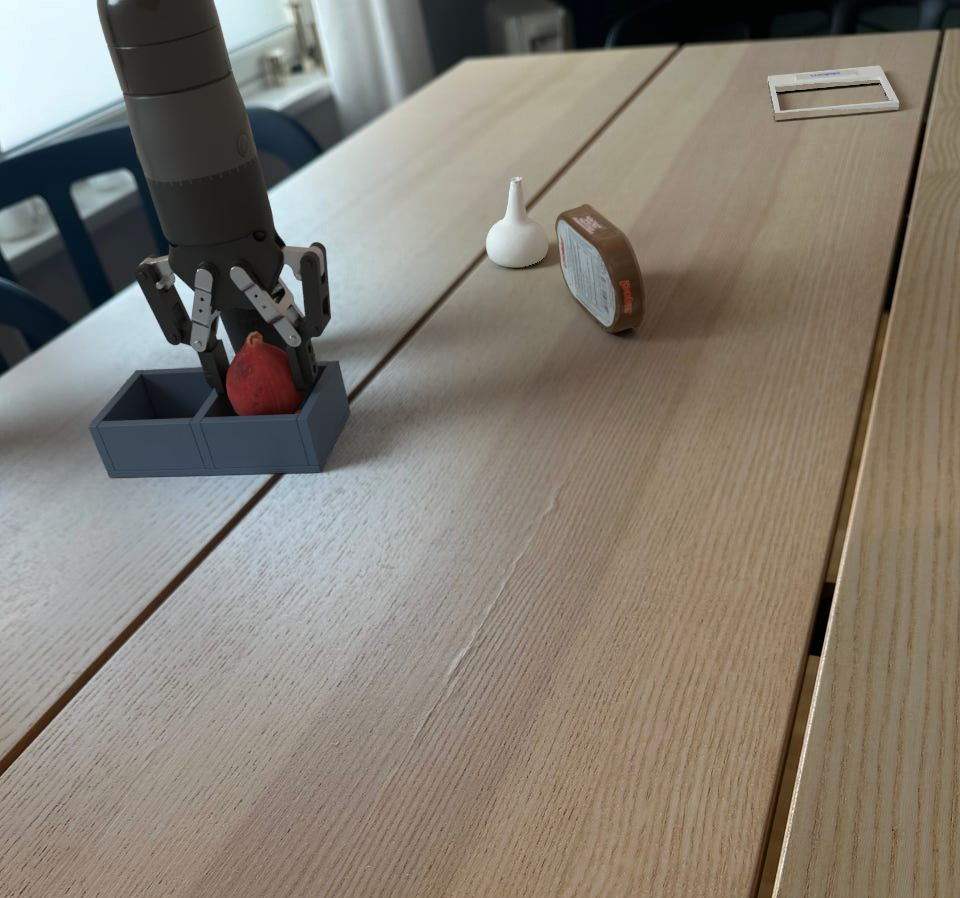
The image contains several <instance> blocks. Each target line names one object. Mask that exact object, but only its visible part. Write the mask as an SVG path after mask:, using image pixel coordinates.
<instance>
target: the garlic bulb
mask: <svg viewBox="0 0 960 898" xmlns="http://www.w3.org/2000/svg"><path fill="white" fill-rule="evenodd" d="M522 181H523V177H521V176H514V177H511V178H510V182H509V185H510V186H509V193H508V200H507V207H506V211H505V215H504V217H503V218H502V219H500V220H498V221H497V222H495V223H494V224H493V225H492V226H491V228H490V229H489V231H488V233H487V235H486V240H485V241H486V242H485V249H486V253H487V256H488V258H489V260H490V261H491V262H492V263H494V264H496V265H499V266H501V267H505V268H525V266H526V267H530V266H529V265H531V266H533V265H532V264H534V265H536V264H535V263H537V262H538V263H540V262H542V261H543V260H544V259H545V258H546V257H547V254H548V251H549V237H548V234H547V232H546V230H545V228H544V227H543V226H542V225H541V223H540V222H538V221H537V220H535V219H534V218H532V217H529V216H528V213H527V208H526V203H525V198H524V197H525V196H524V191H523V184H522V183H523V182H522ZM543 258H544V259H543ZM542 259H543V260H542ZM541 260H542V261H541ZM539 261H540V262H539ZM538 263H537V264H538Z"/></svg>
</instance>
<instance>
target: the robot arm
mask: <svg viewBox="0 0 960 898" xmlns="http://www.w3.org/2000/svg"><path fill="white" fill-rule="evenodd" d="M96 9H97V15H98V19H99V24H100V27H101V31H102V34H103V37H104V40H105V43H106V46H107V50H108V53H109V55H110V59H111V62H112V65H113V68H114V72H115V75H116V78H117V81H118V84H119V88H120V90H121V91H122V97H123V100H124V101H123V102H124V104H125V105H124V106H125V110H126V114H127V121H128V124H129V129H130V134H131V136H132V141H133V143H134V147H135V152H136V154H135V155H136V158H137V160H138V162H139V164H140V165H141V168H142V171H143V175H144V178H145V180H146V184H147V188H148V190H149V193H150V197H151V200H152V203H153V206H154V208H155V209H154V210H155V212H156V216H157V218H158V221H159V224H160V227H161V231H162V233H163V236H164V237H165V239H166V241H167V242H168V249H169V250H168V254H167V255H163V256H160V255H158V254H154V253H151V254H149V255H148V256H147V257H146V258H145V259H143V260H142V262H141V263H139V265H138V266H137V267H136V268H135V270H134V271H133V272H134V274H133V275H134V278H135V280H136V282H137V283H138V286H139V287H140V290H141V291H142V294H143V295H144V298H145V300H146V302H147V303H148V306H149V308H150V310H151V312H152V314H153V316H154V318H155V320H156V322H157V323H158V325H159V328H160V330H161V332H162V334H163V336H164V338H165V340H166V341H167V343H169V344H170V345H171V346H179V345H180V344H181V345H182V344H183V345H186V346H189V347H191V348H192V350H194V351H195V352H196V353H197V356H198V359H199V363H200V365H201V366H200V367H202V369H203V372H204V375H205V378H206V381H207V383H208V385H209V386H210V387H211V388H215V390H216V393H217V395H228V394H227V388H226V375H227V372H228V368H229V366H230V364H231V363H230V361H229V357H228V353H227V351H226V347H225V344H224V341H223V338H219V339H218V337H217V334H218V329H219V322H220V312H221V311H228V310H231V309H233V308H242V309H247V310H250V309H257V310H258V311H259V313H260V314H261V315H262V317H263V318H264V319H265V321H266V322H267V323H269V324H272V325H273V326H274V327H275V328H276V330H277V331H278V332H279V333H280V335H281V336H282V337H283V339H284V340H285V341H286V343H287V344H288V345H287V347H286V352H287V356H288V359H289V363H290V367H291V371H292V374H293V378H294V382H295V386H296V389H297V391H298V392H306V391H308V390H309V388H310V386H311V385H312V383H313V381H314V380H315V378H316V376H317V373H318V366H317V362H318V361H317V358H316V354H315V351H314V347H313V343H312V342H313V341H312V338H320V337H321V336H322V334H323V333H324V331H325V330H326V329H327V326H328V325H329V323H330V321H331V319H332V311H331V310H332V309H331V297H330V285H329V284H330V282H329V270H328V257H327V249H326V246H325V245H324V244H322V243H321V242H319V241H314V242H312V243H311V244H310V245H309V246H308V247H305V246H295V245H294V246H293V245H287V244H286V242H285V241H284V239H282V237H281V236H280V234H279V233H278V231H277V229H276V225H275V222H274V215H273V214H274V213H273V211H272V206H271V203H270V199H269V194H268V190H267V186H266V182H265V178H264V174H263V170H262V166H261V162H260V158H259V155H258V151H257V146H256V143H255V142H256V141H255V138H254V135H253V131H252V127H251V123H250V122H251V121H250V119H249V115H248V112H247V108H246V105H245V102H244V99H243V96H242V94H241V92H240V89H239V86H238V83H237V81H236V78H235V74H234V71H233V70H232V64H231V60H230V56H229V52H228V49H227V44H226V41H225V37H224V33H223V30H222V29H223V28H222V25H221V19H220V17H219V13H218V9H217V6H216V2H215V0H96ZM285 265H287V266H288V267H290V269H291V270H292V273H293V276H294V278H295V279H296V280H297V281H299V282H301V289H302V299H303V309H304V310H303V311H304V313H303V312H302V311H301V309H300V307H298V304H296V301H295V297H294V295H293V293H292V291H291V290H290V289H289V287H288V286H287V284H286V283H285V282H284V280H283V279H282V278H281V274H282V271H283V269H284V268H285ZM176 277H178V278H179V280H181V281H182V282H183V283H184V284H185V285H186V286H187V287H188V288H189V289H190V290H191V291H192V292H193V293H194V294H193V300H192V308H191V317H190V315H189V312H188V310H187V308H186V306H185V304H184V302H183V300H182V298H181V296H180V294H179V292H178V289H177V288H176V285H175V283H176ZM270 296H272V298H273V300H272V298H271V297H270Z"/></svg>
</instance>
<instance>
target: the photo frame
mask: <svg viewBox="0 0 960 898" xmlns="http://www.w3.org/2000/svg"><path fill="white" fill-rule="evenodd" d="M865 80H866V81H867V80H880V82H881V84H882V86H883V88H884V90H885V92H886V94H887V96H888V98H889V100H890V101H888V100H885V101H875V102H864V103H854V104H853V103H852V104H842V105H829V106H819V107H807V108H797V109H787V110H786V109H785V110H781V107H780V103H779V99H778V98H779V97H778V93H776V89H775V87H782V86H783V87H784V86H793V85H794V86H795V85H803V84H814V83H830V82H854V81H865ZM768 81H769V86H770V91H771V96H772V101H773V105H774V110H775V113H785V112H786V113H787V112H799V111H811V110H812V111H813V110H832V109H835V110H836V109H841V110H844V109H847V110H848V109H862V108H879V107H880V108H882V107H883V108H884V107H898V108H899V106H900V101H899V99H898V97H897V95H896V93H895V91H894V90H893V87H892V85H891V84H890V82H889V79H888V78H887V76H886V74H885V72H884V70H883V68H882V67H881V65H879V64H878V65H869V66H859V67H848V68H838V69H836V68H835V69H827V70H820V71H819V70H817V71H807V72H794V73H787V74H786V73H785V74H775V75H774V74H773V75H768V76H767V82H768ZM892 100H893V101H892Z"/></svg>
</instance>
